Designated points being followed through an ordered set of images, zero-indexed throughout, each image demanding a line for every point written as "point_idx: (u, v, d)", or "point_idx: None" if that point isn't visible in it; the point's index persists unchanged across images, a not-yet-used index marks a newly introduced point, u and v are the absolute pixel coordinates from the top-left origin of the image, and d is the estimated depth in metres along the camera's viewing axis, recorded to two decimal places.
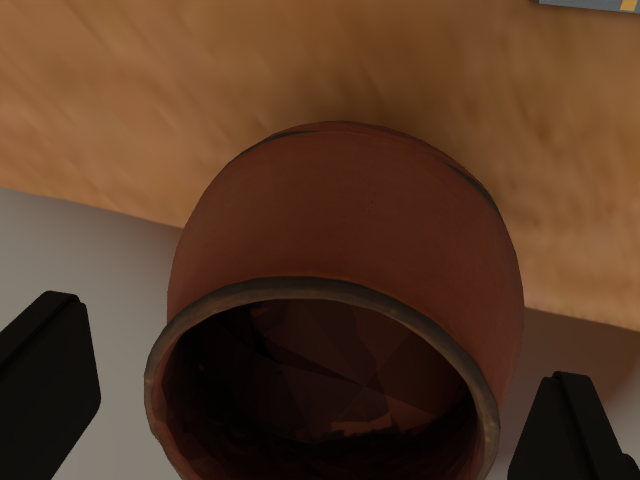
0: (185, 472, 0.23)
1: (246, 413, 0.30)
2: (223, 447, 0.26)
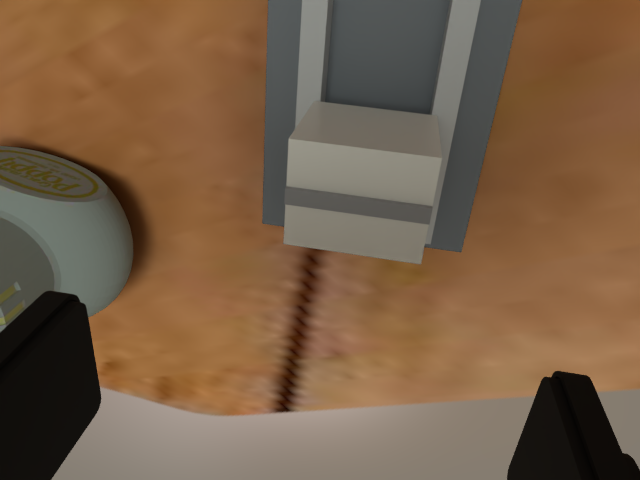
0: None
1: None
2: None
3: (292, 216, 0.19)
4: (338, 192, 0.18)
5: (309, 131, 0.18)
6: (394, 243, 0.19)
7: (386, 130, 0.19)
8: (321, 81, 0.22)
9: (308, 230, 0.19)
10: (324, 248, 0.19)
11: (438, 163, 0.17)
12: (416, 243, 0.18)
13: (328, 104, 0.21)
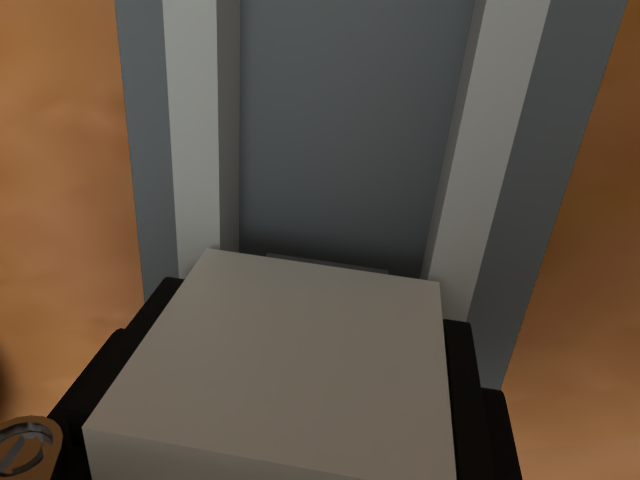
0: None
1: None
2: None
3: None
4: None
5: (151, 380, 0.08)
6: None
7: (330, 358, 0.09)
8: (219, 212, 0.11)
9: None
10: None
11: None
12: None
13: (230, 260, 0.11)
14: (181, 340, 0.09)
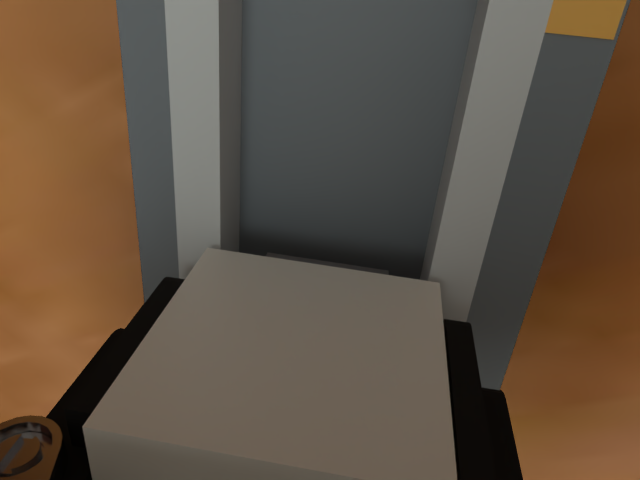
0: None
1: None
2: None
3: None
4: None
5: (151, 380, 0.08)
6: None
7: (330, 358, 0.09)
8: None
9: None
10: None
11: None
12: None
13: (230, 260, 0.11)
14: (181, 340, 0.09)
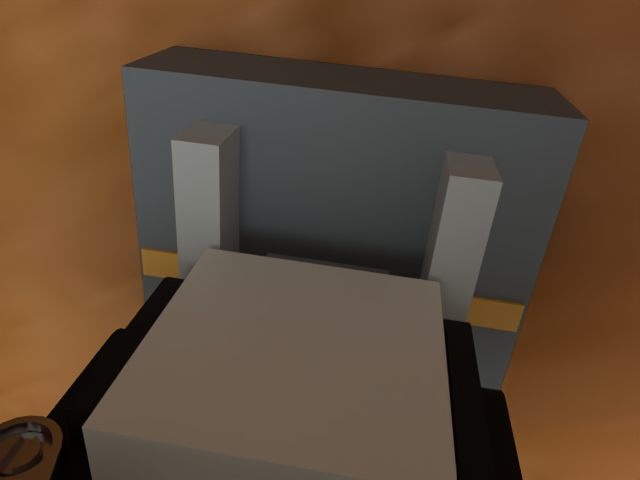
0: None
1: None
2: None
3: None
4: None
5: (151, 380, 0.08)
6: None
7: (330, 359, 0.09)
8: None
9: None
10: None
11: None
12: None
13: (231, 260, 0.11)
14: (181, 340, 0.09)
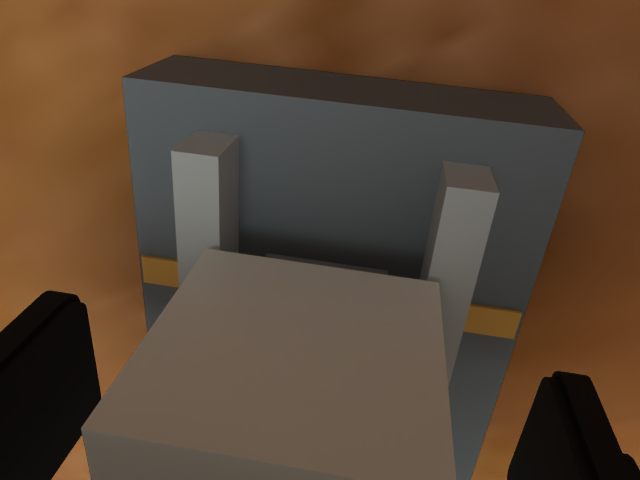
0: None
1: None
2: None
3: None
4: None
5: (150, 382, 0.08)
6: None
7: (330, 359, 0.09)
8: None
9: None
10: None
11: None
12: None
13: (230, 261, 0.11)
14: (181, 341, 0.09)
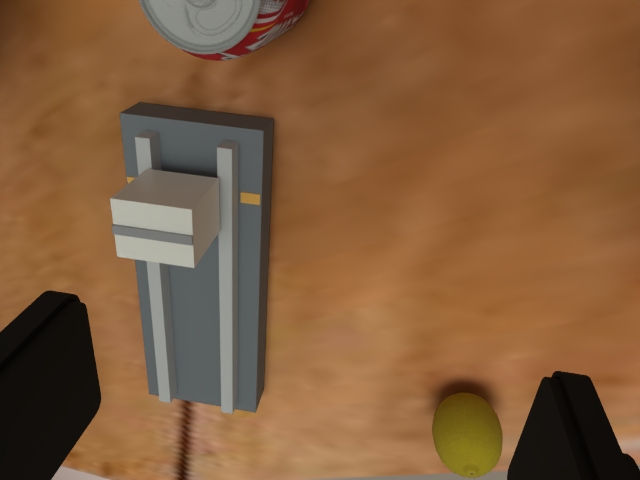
0: None
1: None
2: None
3: (119, 240, 0.33)
4: (141, 227, 0.32)
5: (126, 192, 0.32)
6: (177, 256, 0.32)
7: (174, 191, 0.33)
8: (165, 342, 0.43)
9: (129, 248, 0.33)
10: (140, 259, 0.33)
11: (190, 212, 0.31)
12: (189, 256, 0.32)
13: (153, 171, 0.35)
14: (135, 186, 0.33)
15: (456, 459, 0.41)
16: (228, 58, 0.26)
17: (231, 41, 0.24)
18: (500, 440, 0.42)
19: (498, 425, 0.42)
